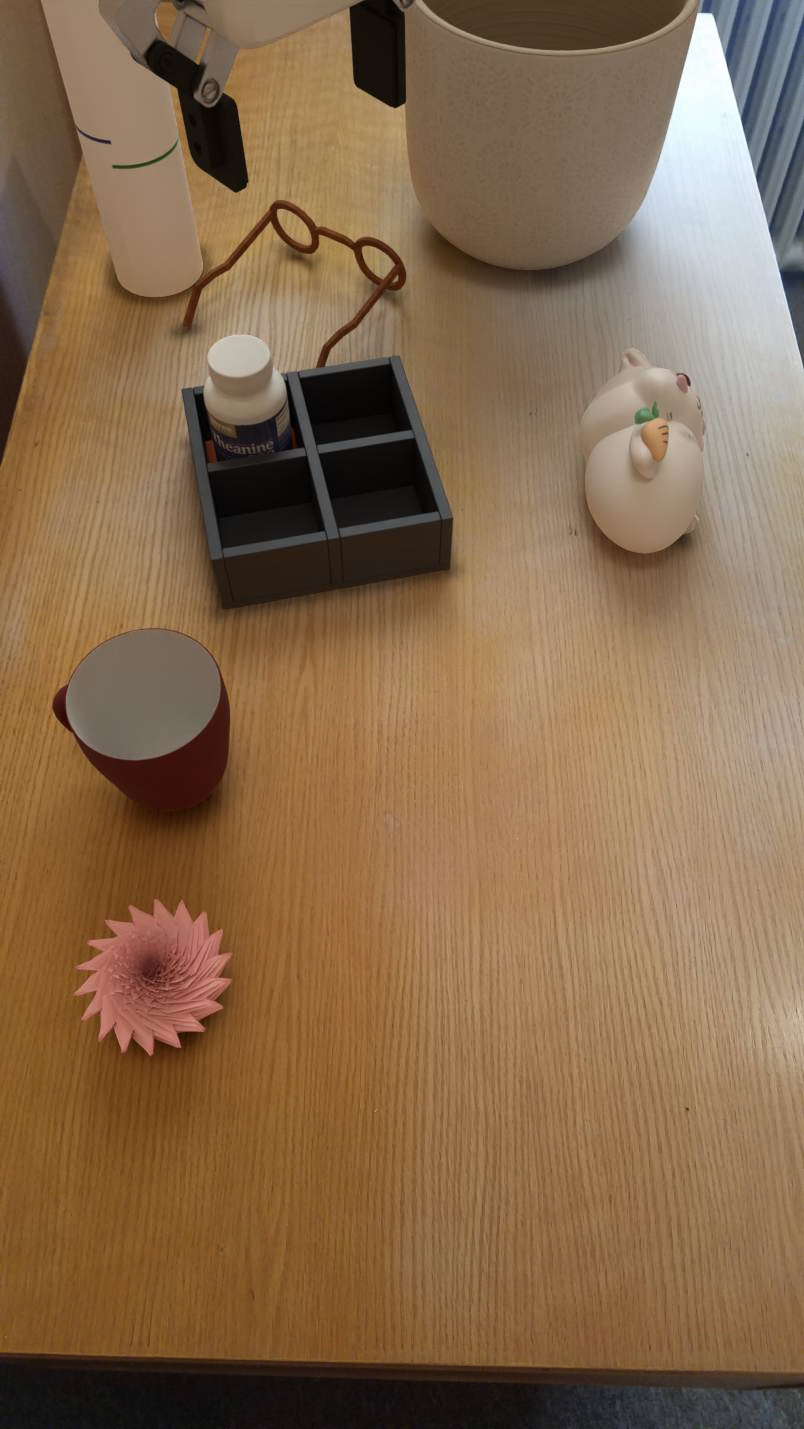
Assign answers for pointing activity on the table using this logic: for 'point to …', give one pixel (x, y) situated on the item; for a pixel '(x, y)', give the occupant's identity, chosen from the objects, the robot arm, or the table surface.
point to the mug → (151, 716)
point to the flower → (155, 977)
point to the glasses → (309, 249)
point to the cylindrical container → (128, 152)
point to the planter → (539, 119)
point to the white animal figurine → (644, 455)
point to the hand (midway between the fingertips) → (304, 135)
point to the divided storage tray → (325, 490)
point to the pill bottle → (245, 400)
